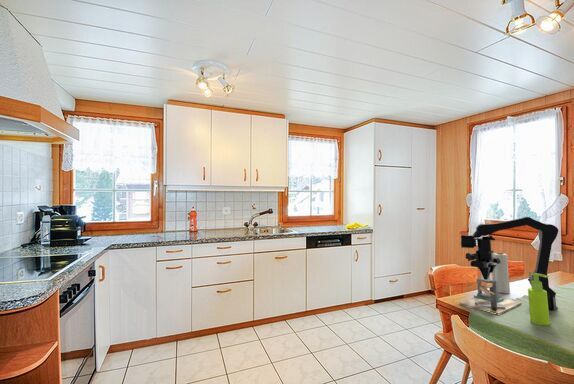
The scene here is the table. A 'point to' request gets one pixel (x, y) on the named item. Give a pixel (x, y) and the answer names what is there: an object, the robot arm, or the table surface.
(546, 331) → the table surface
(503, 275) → the paper towel roll
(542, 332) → the table surface
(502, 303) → the beige rectangular panel
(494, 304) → the wooden crank handle
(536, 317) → the soap dispenser
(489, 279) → the grey boxy piece
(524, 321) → the table surface
